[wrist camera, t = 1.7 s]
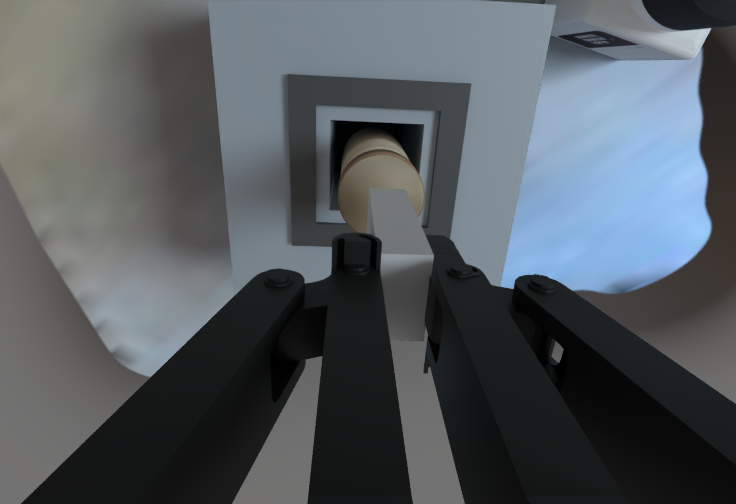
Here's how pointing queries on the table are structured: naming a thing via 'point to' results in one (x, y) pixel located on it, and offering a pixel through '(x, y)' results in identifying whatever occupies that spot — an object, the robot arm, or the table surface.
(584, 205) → the table surface
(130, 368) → the table surface
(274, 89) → the socket block
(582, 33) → the container
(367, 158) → the peg
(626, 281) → the table surface
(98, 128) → the table surface
